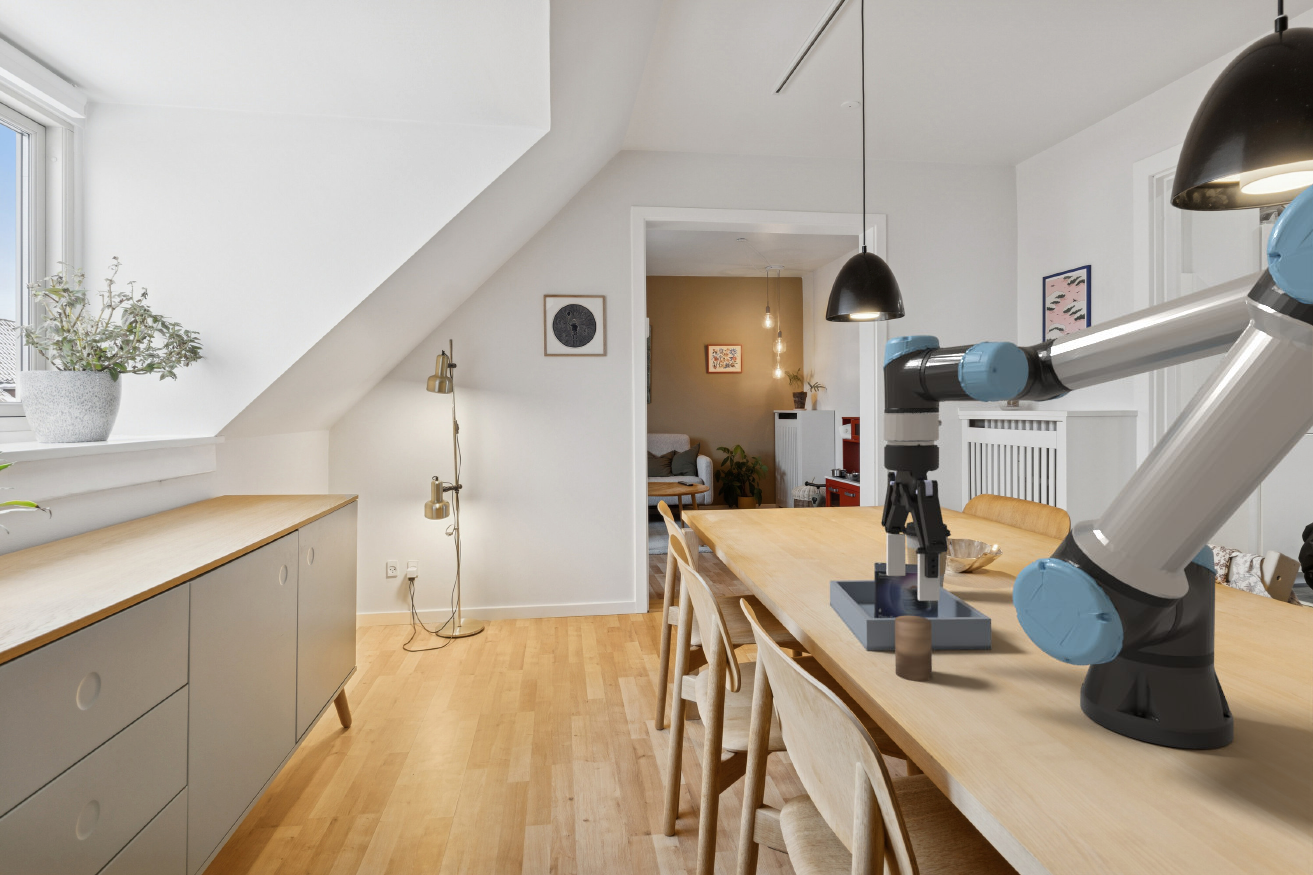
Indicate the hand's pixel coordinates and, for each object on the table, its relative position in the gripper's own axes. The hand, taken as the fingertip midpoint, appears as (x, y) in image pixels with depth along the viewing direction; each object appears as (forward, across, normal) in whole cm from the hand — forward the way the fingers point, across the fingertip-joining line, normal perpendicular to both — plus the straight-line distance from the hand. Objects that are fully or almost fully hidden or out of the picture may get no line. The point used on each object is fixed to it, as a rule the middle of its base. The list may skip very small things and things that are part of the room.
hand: (911, 586), depth 97 cm
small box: (+13, +21, -6) cm, 25 cm away
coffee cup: (+14, +43, -18) cm, 48 cm away
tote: (+13, +23, -6) cm, 27 cm away
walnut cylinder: (+13, 0, 0) cm, 13 cm away
